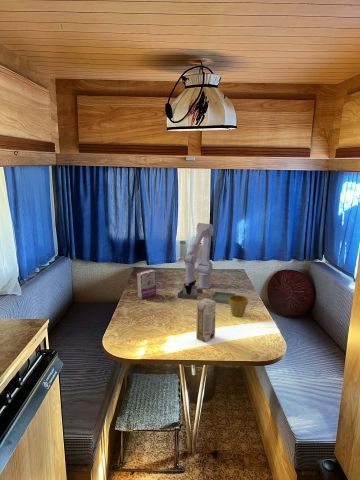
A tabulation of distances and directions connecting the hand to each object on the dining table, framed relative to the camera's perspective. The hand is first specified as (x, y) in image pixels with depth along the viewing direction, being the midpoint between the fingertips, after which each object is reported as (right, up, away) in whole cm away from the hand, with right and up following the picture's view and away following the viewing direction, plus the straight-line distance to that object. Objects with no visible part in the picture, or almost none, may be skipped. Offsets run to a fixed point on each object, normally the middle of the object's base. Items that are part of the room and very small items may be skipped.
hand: (190, 292), depth 235 cm
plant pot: (+26, -8, -30) cm, 40 cm away
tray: (+20, -3, -6) cm, 22 cm away
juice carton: (+6, -14, -57) cm, 59 cm away
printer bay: (+1, -2, 0) cm, 2 cm away
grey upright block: (0, -2, 0) cm, 2 cm away
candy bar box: (-28, -2, -2) cm, 28 cm away
